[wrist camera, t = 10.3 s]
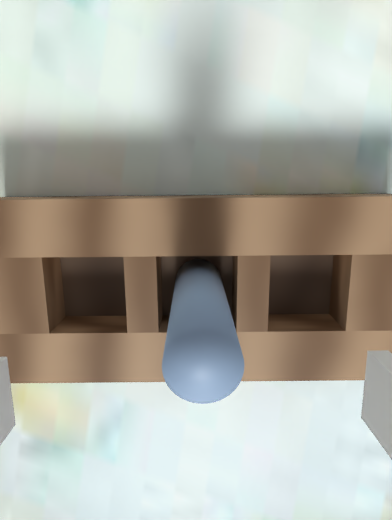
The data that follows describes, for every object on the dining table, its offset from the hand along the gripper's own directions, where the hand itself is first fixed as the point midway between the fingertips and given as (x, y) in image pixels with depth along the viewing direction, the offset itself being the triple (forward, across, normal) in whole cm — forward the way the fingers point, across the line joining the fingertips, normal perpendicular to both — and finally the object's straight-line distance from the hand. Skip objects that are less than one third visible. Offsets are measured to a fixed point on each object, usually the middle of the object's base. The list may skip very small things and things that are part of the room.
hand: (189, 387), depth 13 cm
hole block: (+13, +1, 0) cm, 13 cm away
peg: (+13, +1, 0) cm, 13 cm away
